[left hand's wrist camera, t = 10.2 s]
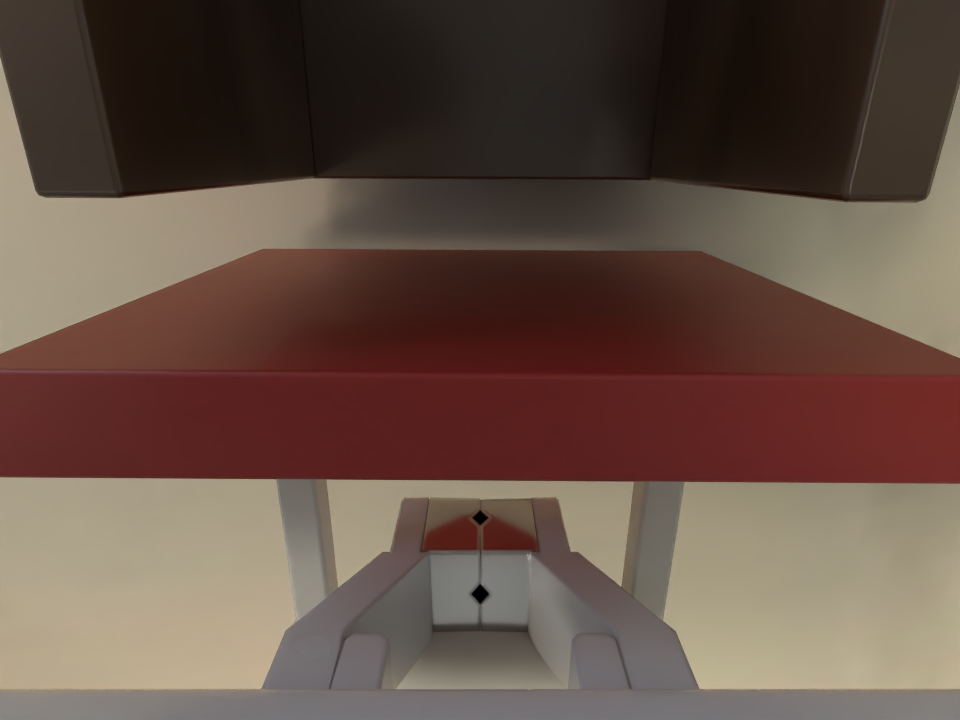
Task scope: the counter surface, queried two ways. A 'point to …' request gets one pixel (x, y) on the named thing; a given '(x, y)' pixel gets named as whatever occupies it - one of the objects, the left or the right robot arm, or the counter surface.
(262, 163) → the drawer
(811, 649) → the counter surface
